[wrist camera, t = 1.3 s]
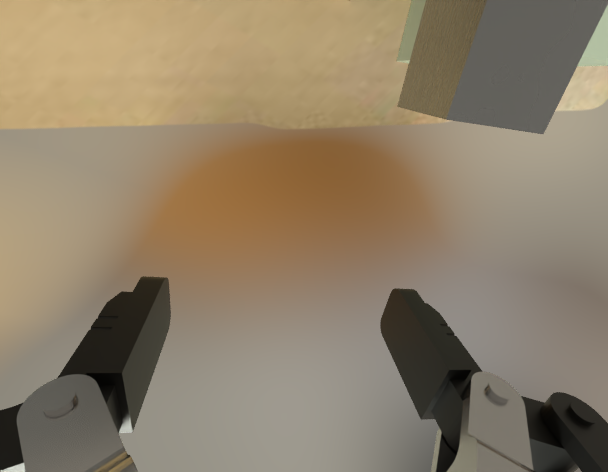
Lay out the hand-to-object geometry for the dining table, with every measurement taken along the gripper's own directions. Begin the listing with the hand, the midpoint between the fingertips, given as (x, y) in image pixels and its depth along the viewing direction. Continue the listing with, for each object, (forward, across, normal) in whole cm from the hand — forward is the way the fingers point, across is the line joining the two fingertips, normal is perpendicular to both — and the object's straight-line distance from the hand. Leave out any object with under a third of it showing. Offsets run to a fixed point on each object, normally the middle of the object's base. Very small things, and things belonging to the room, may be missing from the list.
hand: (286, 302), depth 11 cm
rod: (+2, +4, +19) cm, 19 cm away
